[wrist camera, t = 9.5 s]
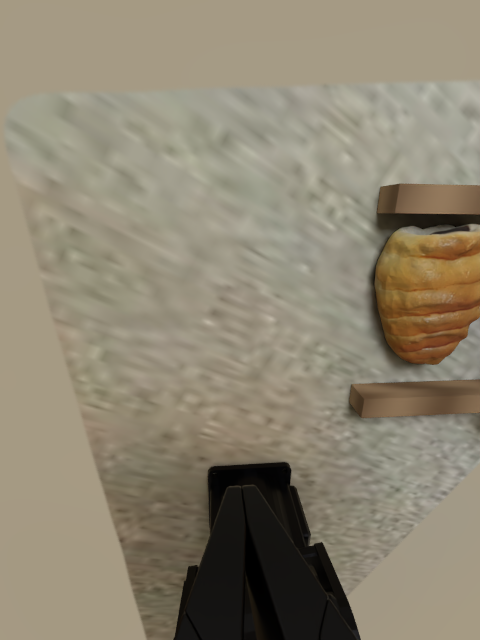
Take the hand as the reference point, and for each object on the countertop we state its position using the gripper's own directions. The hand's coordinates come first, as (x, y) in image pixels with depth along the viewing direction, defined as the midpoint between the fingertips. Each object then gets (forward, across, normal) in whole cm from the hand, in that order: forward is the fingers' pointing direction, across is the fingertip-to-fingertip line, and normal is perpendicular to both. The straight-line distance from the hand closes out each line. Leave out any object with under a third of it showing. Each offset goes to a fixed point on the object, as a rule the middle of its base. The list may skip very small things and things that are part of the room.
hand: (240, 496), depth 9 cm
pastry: (+13, -13, -4) cm, 19 cm away
